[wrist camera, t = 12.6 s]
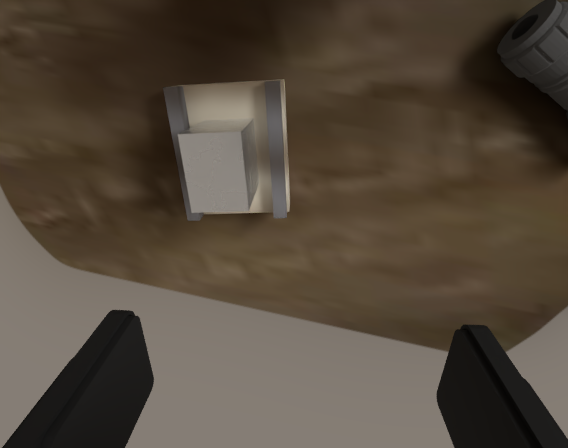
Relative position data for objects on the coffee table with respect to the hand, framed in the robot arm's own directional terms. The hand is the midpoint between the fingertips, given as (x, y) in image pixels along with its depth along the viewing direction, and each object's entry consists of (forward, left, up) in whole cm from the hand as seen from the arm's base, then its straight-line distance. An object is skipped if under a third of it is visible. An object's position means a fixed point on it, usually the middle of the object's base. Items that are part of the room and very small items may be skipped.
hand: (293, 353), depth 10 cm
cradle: (-1, -6, -26) cm, 27 cm away
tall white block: (-1, -6, -23) cm, 24 cm away
